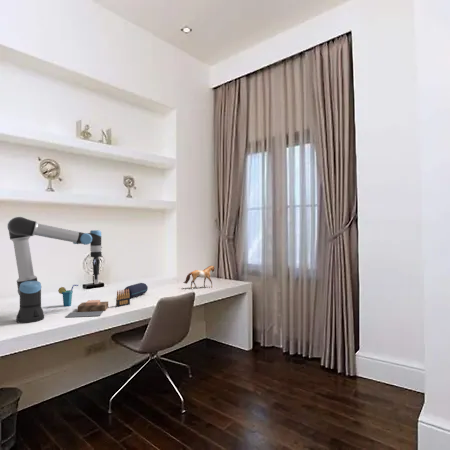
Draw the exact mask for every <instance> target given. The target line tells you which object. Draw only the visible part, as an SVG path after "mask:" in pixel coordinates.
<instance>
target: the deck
mask: <svg viewBox="0 0 450 450" xmlns="http://www.w3.org/2000/svg"><path fill="white" fill-rule="evenodd" d="M86 302H87V301H86ZM86 302H80V304H78V305H77V312H95V311H103V312H105V311H107V309H108V308H109V301H100V303H99V304H98V305H89V306H86Z"/></svg>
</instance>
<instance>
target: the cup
mask: <svg viewBox="0 0 450 450" xmlns="http://www.w3.org/2000/svg"><path fill="white" fill-rule="evenodd" d="M75 286H76V287H79V284H72V287H71V289H70V290H67V289H66V288H65V287H63V286H61V287H59V288H58V293H59V294H60V295H62V301H63V302H62V304H63V307H71V306H72V301H73V289H74V287H75Z"/></svg>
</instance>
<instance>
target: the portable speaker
mask: <svg viewBox="0 0 450 450" xmlns="http://www.w3.org/2000/svg"><path fill="white" fill-rule="evenodd" d="M126 289H127V291H128V289H129V298H130V299H133V298H135V297H139V296H142V295H144V294H146V293H147V292H148V285H147V284H146V283H143V282H139V283H135V284H131V285H127V286H126V287H125V288H124V289H123V291H124V290H125V291H126Z"/></svg>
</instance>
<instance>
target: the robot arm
mask: <svg viewBox="0 0 450 450" xmlns="http://www.w3.org/2000/svg"><path fill="white" fill-rule="evenodd" d="M7 230H8V235H9V240H11V241H12V242H13V248H14V257H15V262H16V266H17V274H18V278H17V280H16V285H17V293H18V295H19V309H18V313H17V316H16V318H15V320H16V322H17V323H22V324H23V323H24V324H25V323H26V324H27V323H35V322H38V321H42V320H44V319H45V313H44V311H43V307H42V283H41V282H40V281H38V277H37V276H36V275H35V273H34V268H33V261H32V253H31V248H30V247H31V246H30V242H29V240H30V238H31V237H34V236H37V237H44V238H49V239H55V240H60V241H64V242H70V243H72V244H73V245H87V246H88V245H90V248H89V249H90V257H91V258H93V259H92V271H93V272H92V273H93V274H92V275H93V277H94V278H93V280H94V281H93V284H94V285H99V283H100V282H99V275H100V258H101V257H102V249H103V246H102V231H101V229H100V230H99V229H98V230H96V229H95V230H93V229H92V230H90V231H89V232H87V233H86V232H82V231H81V232H80V231H78V230H77V231H76V230H71V229H66V228H63V227H58V226H52V225H47V224H42V223H38V222H37V221H36V220H32V219H27V218H25V217H23V216H15V217H13V218H12V219H10V220H9V221H8V223H7Z"/></svg>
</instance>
